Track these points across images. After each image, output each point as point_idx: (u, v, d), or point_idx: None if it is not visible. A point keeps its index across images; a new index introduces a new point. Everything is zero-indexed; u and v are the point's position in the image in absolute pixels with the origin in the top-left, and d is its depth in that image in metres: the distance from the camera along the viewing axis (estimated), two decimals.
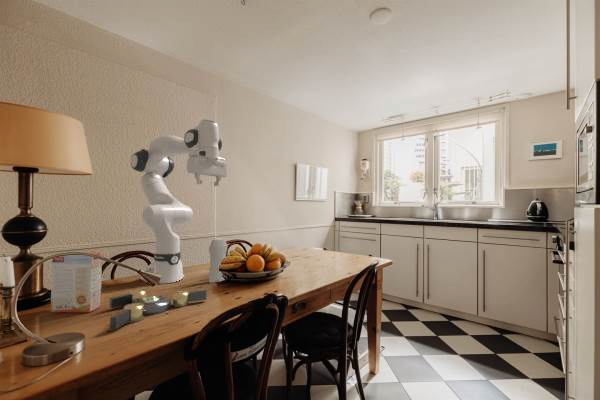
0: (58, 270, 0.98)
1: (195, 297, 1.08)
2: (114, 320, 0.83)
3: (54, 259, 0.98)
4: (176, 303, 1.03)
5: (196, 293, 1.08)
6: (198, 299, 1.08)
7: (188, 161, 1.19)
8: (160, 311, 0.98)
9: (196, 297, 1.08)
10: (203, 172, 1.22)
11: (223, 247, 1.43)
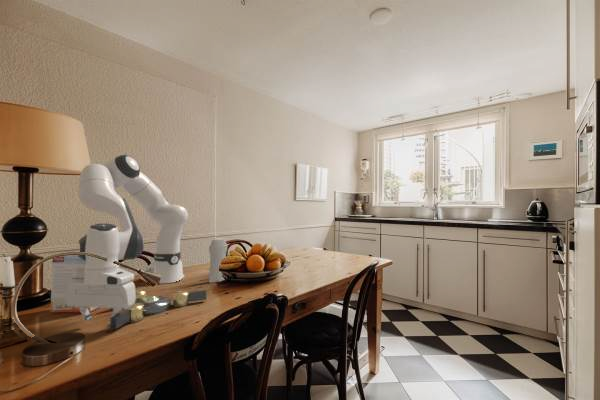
0: (58, 270, 0.98)
1: (195, 297, 1.08)
2: (114, 320, 0.83)
3: (54, 259, 0.98)
4: (176, 303, 1.03)
5: (196, 293, 1.08)
6: (198, 299, 1.08)
7: (128, 291, 0.84)
8: (160, 311, 0.98)
9: (196, 297, 1.08)
10: None
11: (223, 247, 1.43)
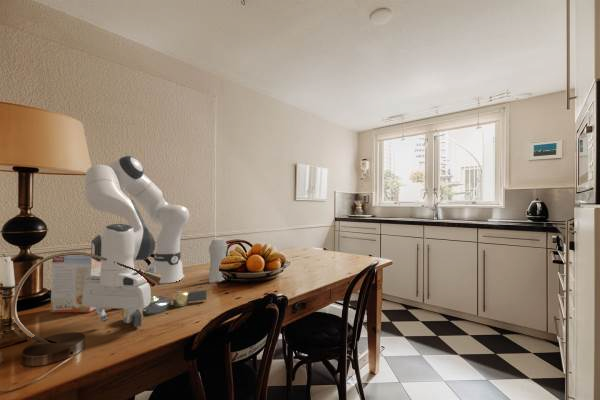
0: (58, 270, 0.98)
1: (195, 297, 1.08)
2: (139, 317, 0.85)
3: (54, 259, 0.98)
4: (176, 303, 1.03)
5: (196, 293, 1.08)
6: (198, 299, 1.08)
7: (144, 292, 0.84)
8: (160, 311, 0.98)
9: (196, 297, 1.08)
10: None
11: (223, 247, 1.43)
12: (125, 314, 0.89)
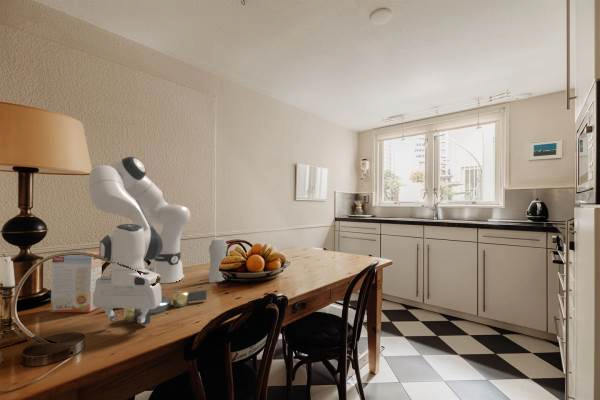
0: (58, 270, 0.98)
1: (195, 297, 1.08)
2: (148, 315, 0.87)
3: (54, 259, 0.98)
4: (176, 303, 1.03)
5: (196, 293, 1.08)
6: (198, 299, 1.08)
7: (155, 292, 0.84)
8: (160, 311, 0.98)
9: (196, 297, 1.08)
10: None
11: (223, 247, 1.43)
12: (127, 314, 0.89)
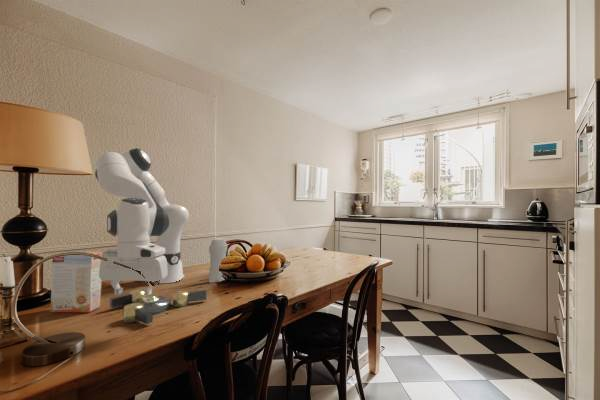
0: (58, 270, 0.98)
1: (195, 297, 1.08)
2: (150, 314, 0.87)
3: (54, 259, 0.98)
4: (176, 303, 1.03)
5: (196, 293, 1.08)
6: (198, 299, 1.08)
7: (161, 264, 0.84)
8: (160, 311, 0.98)
9: (196, 297, 1.08)
10: None
11: (223, 247, 1.43)
12: (128, 314, 0.89)
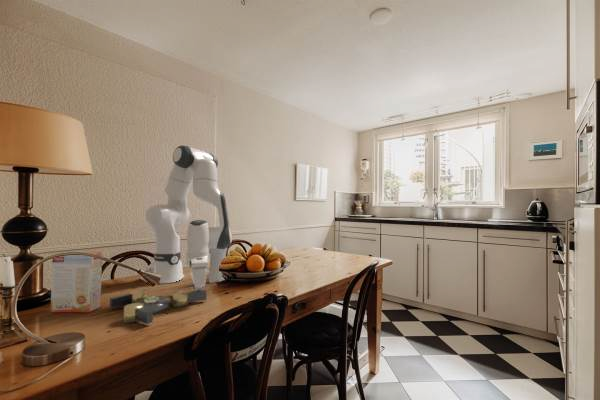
0: (58, 270, 0.98)
1: (195, 298, 1.08)
2: (150, 314, 0.87)
3: (54, 259, 0.98)
4: (176, 303, 1.03)
5: (196, 293, 1.08)
6: (198, 299, 1.08)
7: (197, 274, 1.06)
8: (160, 311, 0.98)
9: (196, 297, 1.08)
10: None
11: None
12: (128, 314, 0.89)
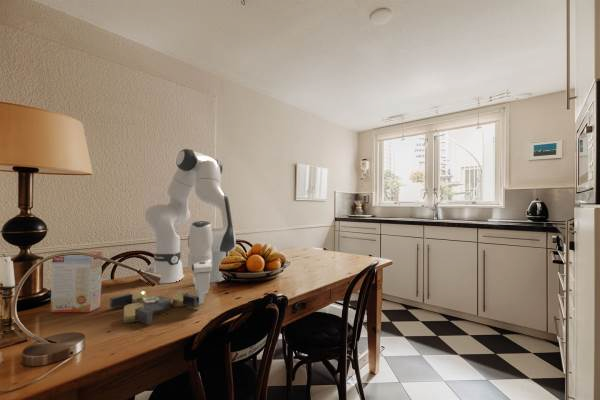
0: (58, 270, 0.98)
1: (187, 302, 1.03)
2: (150, 314, 0.87)
3: (54, 259, 0.98)
4: None
5: (188, 297, 1.03)
6: (189, 304, 1.02)
7: (200, 280, 0.98)
8: (160, 311, 0.98)
9: (188, 301, 1.03)
10: None
11: None
12: (128, 314, 0.89)
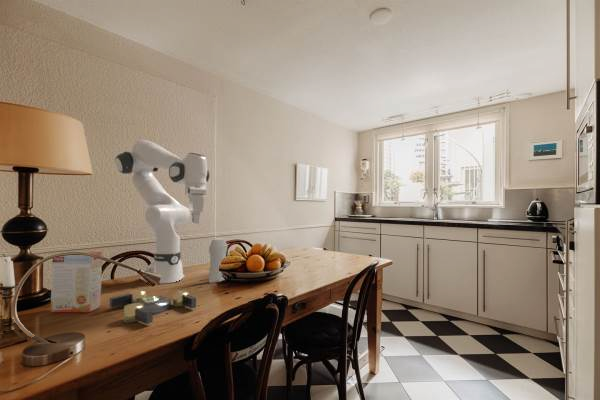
0: (58, 270, 0.98)
1: (185, 302, 1.02)
2: (150, 314, 0.87)
3: (54, 259, 0.98)
4: None
5: (186, 298, 1.02)
6: (187, 305, 1.02)
7: (195, 199, 1.09)
8: (160, 311, 0.98)
9: (186, 302, 1.02)
10: None
11: (223, 247, 1.43)
12: (128, 314, 0.89)
